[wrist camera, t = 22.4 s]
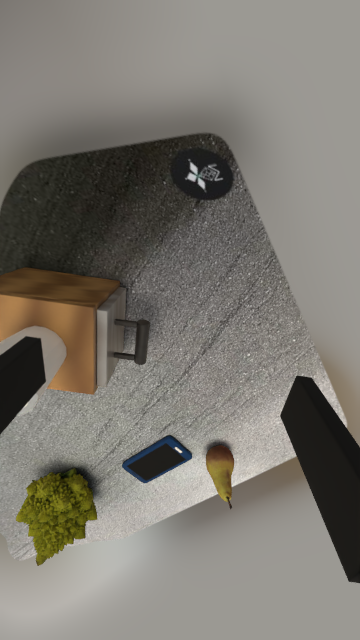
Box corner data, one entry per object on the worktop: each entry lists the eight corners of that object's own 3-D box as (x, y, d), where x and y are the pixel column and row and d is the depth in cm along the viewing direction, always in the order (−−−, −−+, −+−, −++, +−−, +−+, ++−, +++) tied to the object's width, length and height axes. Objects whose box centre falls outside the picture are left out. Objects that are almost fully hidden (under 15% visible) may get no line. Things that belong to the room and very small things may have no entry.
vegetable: (90, 533, 56) (30, 597, 42) (54, 476, 61) (-10, 516, 47) (127, 491, 54) (76, 544, 40) (87, 436, 59) (29, 465, 45)
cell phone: (193, 454, 50) (193, 457, 49) (144, 481, 54) (144, 484, 53) (169, 434, 47) (169, 437, 47) (120, 463, 52) (119, 466, 51)
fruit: (198, 448, 49) (200, 516, 38) (221, 435, 47) (230, 502, 36) (215, 462, 51) (222, 532, 40) (238, 450, 49) (252, 519, 38)
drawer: (157, 292, 35) (147, 317, 27) (150, 354, 39) (140, 392, 31) (38, 275, 34) (-9, 294, 26) (44, 339, 39) (6, 373, 31)
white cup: (53, 382, 30) (15, 429, 23) (1, 348, 28) (-55, 389, 22) (83, 347, 28) (51, 388, 21) (29, 308, 26) (-24, 340, 19)
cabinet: (120, 280, 35) (93, 307, 26) (117, 349, 40) (93, 394, 30) (25, 266, 35) (-40, 288, 25) (33, 338, 40) (-18, 379, 30)
